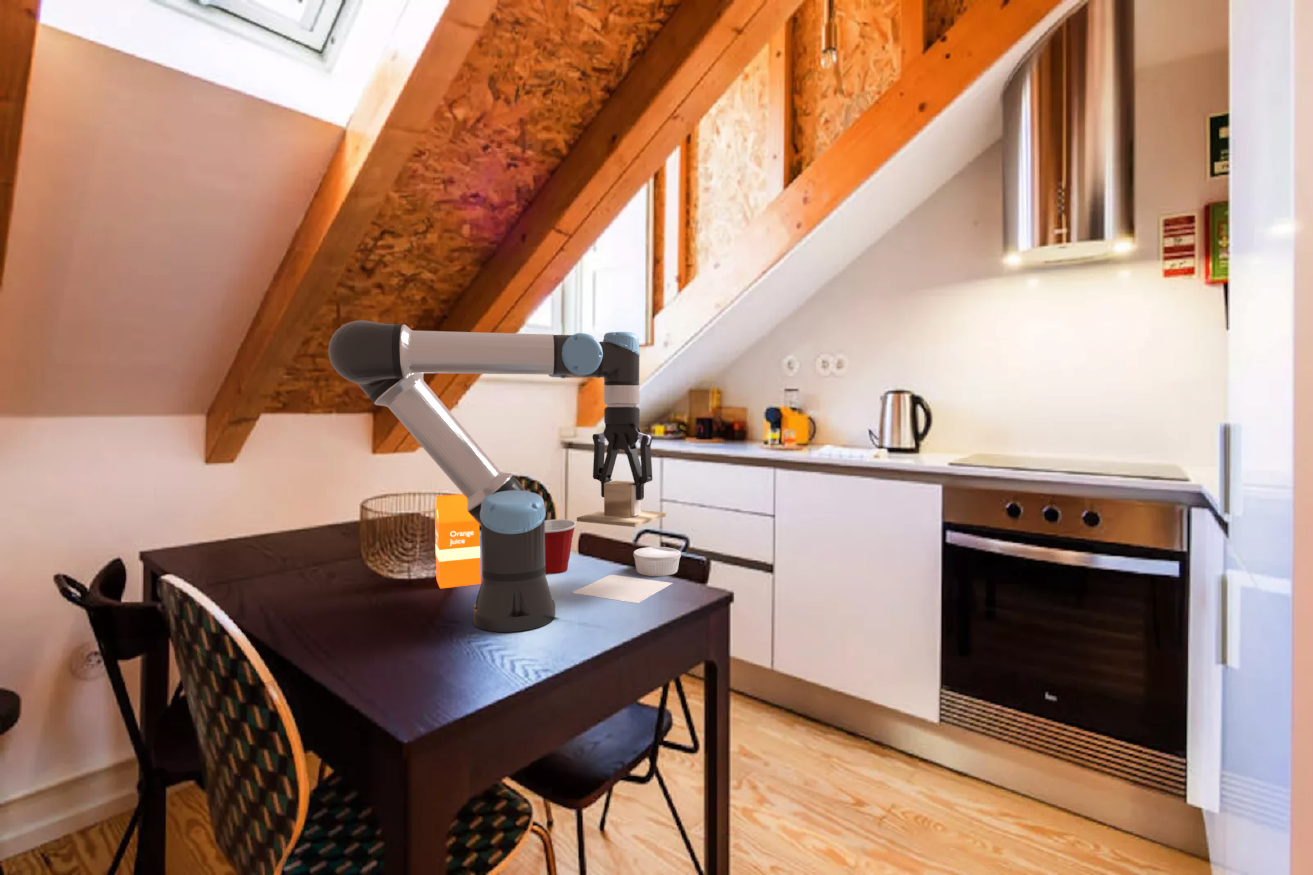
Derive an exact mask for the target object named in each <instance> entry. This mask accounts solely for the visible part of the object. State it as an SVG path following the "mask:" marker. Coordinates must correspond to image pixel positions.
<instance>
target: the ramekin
mask: <svg viewBox="0 0 1313 875" xmlns="http://www.w3.org/2000/svg"><path fill="white" fill-rule="evenodd" d="M633 557H634V563H635V564H634V565H635V569H636V573H638V574H640V575H643V576H650V577H662V576H663V577H665V576H671V575H674V574H676V573H678V570H679V563H680V558H681V557H682V553H681V551H680V550H679V549H676V548H672V547H668V546H667V547H664V546H648V547H642V548H641V547H640V548H638V549H635V550H634V551H633Z"/></svg>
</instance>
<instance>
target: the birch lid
mask: <svg viewBox="0 0 1313 875" xmlns="http://www.w3.org/2000/svg"><path fill="white" fill-rule="evenodd" d="M633 483H635V482H634V481H630V480H629V481H628V480H625V481H624V480H612V481H609V482H607V483H604V497H603V498H604V499H603V505H604V506H603V507H604V508H603V509H602V510H599V511H596V512H595V511H594V512H591V513H589V514H584V515H581V516H578V517H576V522H581V523H590V524H601V525H609V526H610V525H611V526H619V527H630V528H637V527H640V526H642V525H645V524H648V523H650V522H653V521H656V520H660V519H662V518H665V517H667V512H663V511H662V512H661V511H651V510H650V511H649V510H641V514H640V515H637V516H631V485H633Z"/></svg>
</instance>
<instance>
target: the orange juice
mask: <svg viewBox="0 0 1313 875" xmlns="http://www.w3.org/2000/svg"><path fill="white" fill-rule="evenodd" d="M435 497H436V501H435V517H434V525H435V526H434V527H435V534H434V535H435V544H434V545H435V546H434V548H435V567H436V568H435V569H436V570H435V574H436V582H437V585H438V587H439V589H449V588H457V587H465V586H467V587H468V586H472V585H481V583H482V579H481V545H480V544H481V543H480V542H481V538H480V534H481V532H480V530H481V529H480V525H479V524H478V523H477V521H476V520H475V519H474V518H473V517H472V516H471V514H470V513H469V512H468V511H467V498H466V497H465V496H464V495H463V493H462V494H461V493H459V494H445V495H443V494H441V495H436V496H435Z"/></svg>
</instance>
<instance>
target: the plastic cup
mask: <svg viewBox="0 0 1313 875" xmlns="http://www.w3.org/2000/svg"><path fill="white" fill-rule="evenodd" d="M576 525H577V521H574V520H572V519H564V518H563V519H562V518H561V519H559V518H557V519H556V518H555V519H545V575H546V574H547V575H548V574H550V575H551V574H552V575H554V574H563V573H565V572H567V571H568V567H569V560H570V556H571V550H572V549H571V548H572V543H573V542H572V541H573V537H574V532H575V527H576Z"/></svg>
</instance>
